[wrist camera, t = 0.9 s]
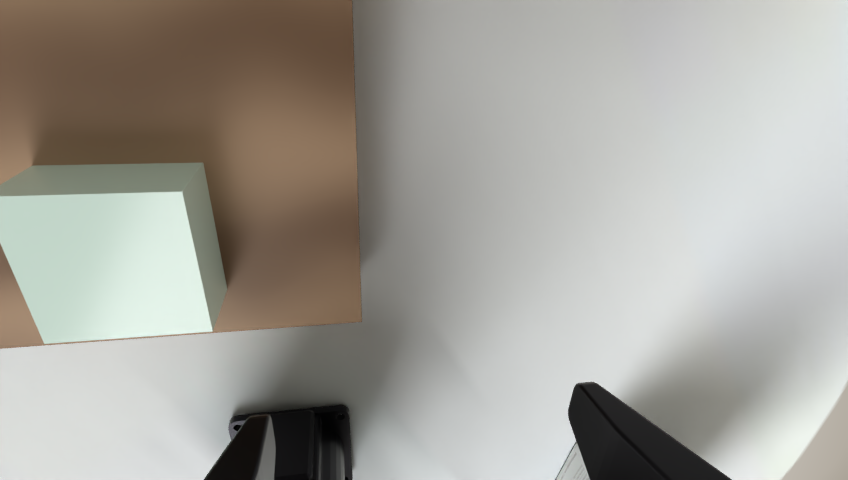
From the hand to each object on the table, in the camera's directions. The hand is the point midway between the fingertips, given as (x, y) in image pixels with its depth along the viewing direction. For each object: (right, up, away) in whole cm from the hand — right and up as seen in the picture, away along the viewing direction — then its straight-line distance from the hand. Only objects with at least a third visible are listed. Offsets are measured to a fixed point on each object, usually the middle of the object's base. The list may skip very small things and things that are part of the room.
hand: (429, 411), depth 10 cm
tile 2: (-10, +4, +6) cm, 12 cm away
